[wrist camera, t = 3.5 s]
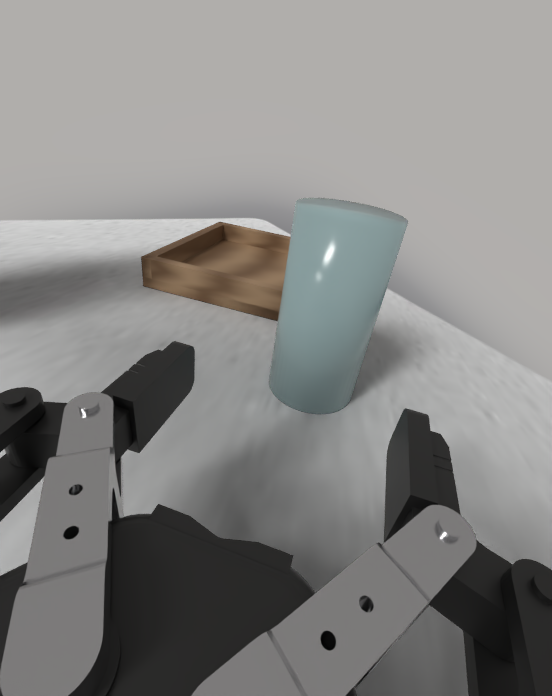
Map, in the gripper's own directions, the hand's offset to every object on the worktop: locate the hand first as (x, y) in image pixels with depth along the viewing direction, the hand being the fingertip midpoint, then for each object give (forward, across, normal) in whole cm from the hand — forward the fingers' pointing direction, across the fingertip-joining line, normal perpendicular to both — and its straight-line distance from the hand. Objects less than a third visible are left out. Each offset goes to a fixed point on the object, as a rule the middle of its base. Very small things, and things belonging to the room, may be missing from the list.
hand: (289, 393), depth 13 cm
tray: (+27, +11, +7) cm, 30 cm away
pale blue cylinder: (+10, 0, +7) cm, 12 cm away
